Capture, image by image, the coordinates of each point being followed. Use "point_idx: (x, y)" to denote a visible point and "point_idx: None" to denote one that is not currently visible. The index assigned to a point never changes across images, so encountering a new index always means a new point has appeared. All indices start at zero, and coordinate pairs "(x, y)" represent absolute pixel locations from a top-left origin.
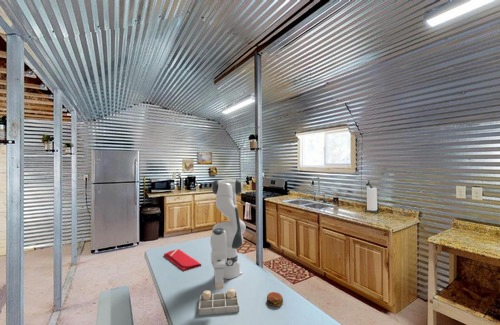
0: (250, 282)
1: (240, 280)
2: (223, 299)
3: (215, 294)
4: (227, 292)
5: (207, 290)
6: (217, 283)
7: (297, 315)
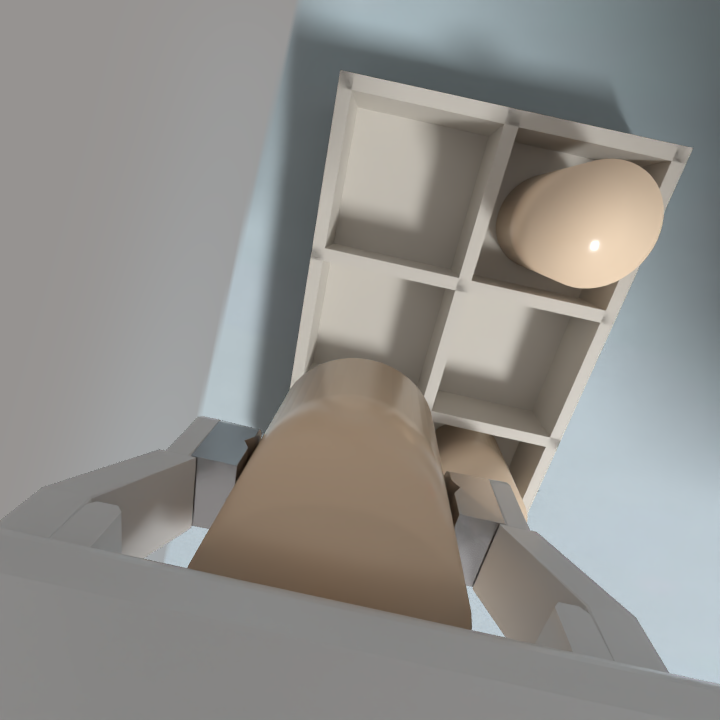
0: (672, 662)
1: None
2: (432, 398)
3: (586, 343)
4: (474, 474)
5: (647, 248)
6: (145, 454)
7: None
